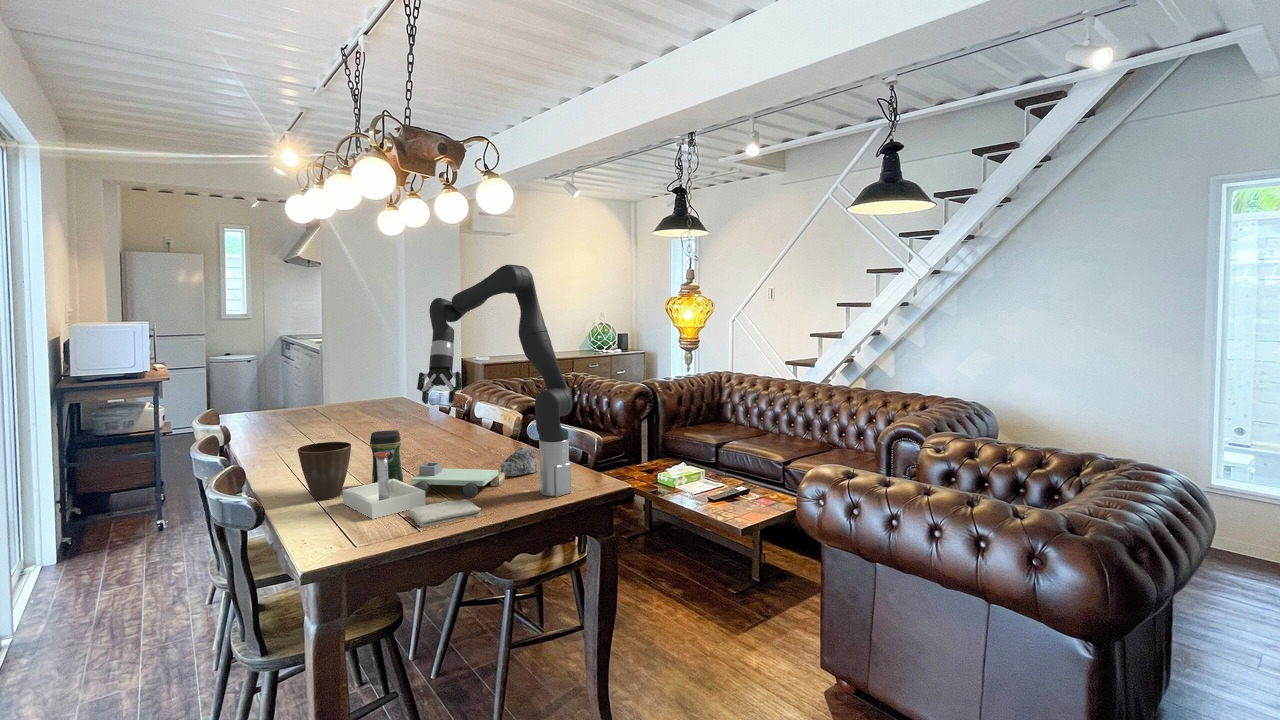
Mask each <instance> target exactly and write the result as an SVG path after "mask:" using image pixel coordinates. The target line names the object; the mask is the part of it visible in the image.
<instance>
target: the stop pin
mask: <svg viewBox="0 0 1280 720" xmlns="http://www.w3.org/2000/svg"><path fill="white" fill-rule="evenodd" d="M388 455H390V452H389V451H379V452H375V453H374V457H376V459H377V478H378V497H379V501H381V500H385V499H389V480H388V461H387V456H388Z"/></svg>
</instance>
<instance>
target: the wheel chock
mask: <svg viewBox="0 0 1280 720" xmlns="http://www.w3.org/2000/svg"><path fill="white" fill-rule="evenodd" d="M505 478H506V477H505V473H501V471H498V475H497V476H496V477H495V478H493V479H492V480H491V483H490V486H491V487H500V486H501V484H502V483H503V482H504V483H505V481H506V479H505ZM504 483H503V484H504ZM503 484H502V485H503Z"/></svg>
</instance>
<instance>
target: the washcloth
mask: <svg viewBox="0 0 1280 720" xmlns="http://www.w3.org/2000/svg"><path fill="white" fill-rule="evenodd" d="M481 509H482V507H479V506H477V505H476V504H475V503H474V502H472V501H471V500H468V499H466V498H465V499H464V498H463V499H460V500H444V501H442V502H437V503H430V504H426V505H425V506H421V507H415V508H413V509H411V510H407V511H408V512H407V515H408V517H409V518H410V519H411V520H413V519H414V520H413V521H414V522H415V524H416V523H417V524H416V525H417V526H418V525H419V526H418V527H420V528H425V526H426V527H431V526H436V525H439V523H441V524H445V522H446V523H450V522H454V520H455V521H459V519H460V520H464V519H463V518H465V519H468V518H467V517H470V518H475V517H474V516H476V517H480V516H481V514H482V513H481ZM435 524H436V525H435ZM430 525H431V526H430Z"/></svg>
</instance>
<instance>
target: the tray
mask: <svg viewBox="0 0 1280 720" xmlns="http://www.w3.org/2000/svg"><path fill="white" fill-rule="evenodd" d="M343 504H345V505H347V506H349V507H351V508H353V509H355V510H357V511H358V512H357V511H356V512H357V513H359V512H360V513H359V514H361V513H362V514H361V515H363V514H364V515H363V516H365V515H366V516H365V517H367V516H368V517H370V518H372V519H373V520H375V519H374V518H377V519H379V518H378V517H381V518H383V517H382V516H385V517H387V516H386V515H388V516H391V515H390V514H392V515H394V514H393V513H396V514H398V512H400V513H403V512H402V511H404V512H407V511H409V510H410V509H413V508H415V507H421V506H425V505H427V502H426V494H425V491H424V490H421V489H419V488H416V487H415V485H411V484H408V483H406V482H404V481H403V482H401V481H399V480H396V479H390V480H389V499H385V500H381V501H379V497H378V482H377V483H372V482H371V483H369V484H364V485H359V486H356V487H355V486H354V487H349V488H346V489H342V505H343ZM345 505H344V506H345ZM347 506H346V507H347ZM349 507H348V508H349ZM351 508H350V509H351ZM353 509H352V510H353ZM355 510H354V511H355ZM406 510H407V511H406ZM368 517H367V518H368ZM370 518H369V519H370ZM372 519H371V520H372Z"/></svg>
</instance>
